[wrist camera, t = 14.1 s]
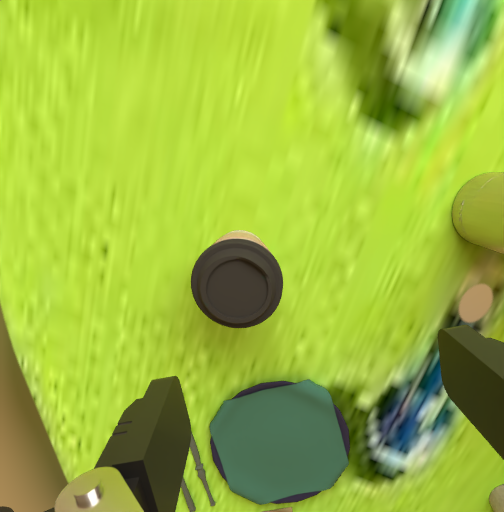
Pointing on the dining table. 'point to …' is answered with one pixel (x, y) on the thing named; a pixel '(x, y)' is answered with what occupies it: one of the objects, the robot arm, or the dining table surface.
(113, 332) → the dining table surface
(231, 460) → the cutlery set
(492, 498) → the house plant
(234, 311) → the coffee cup
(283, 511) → the button box
